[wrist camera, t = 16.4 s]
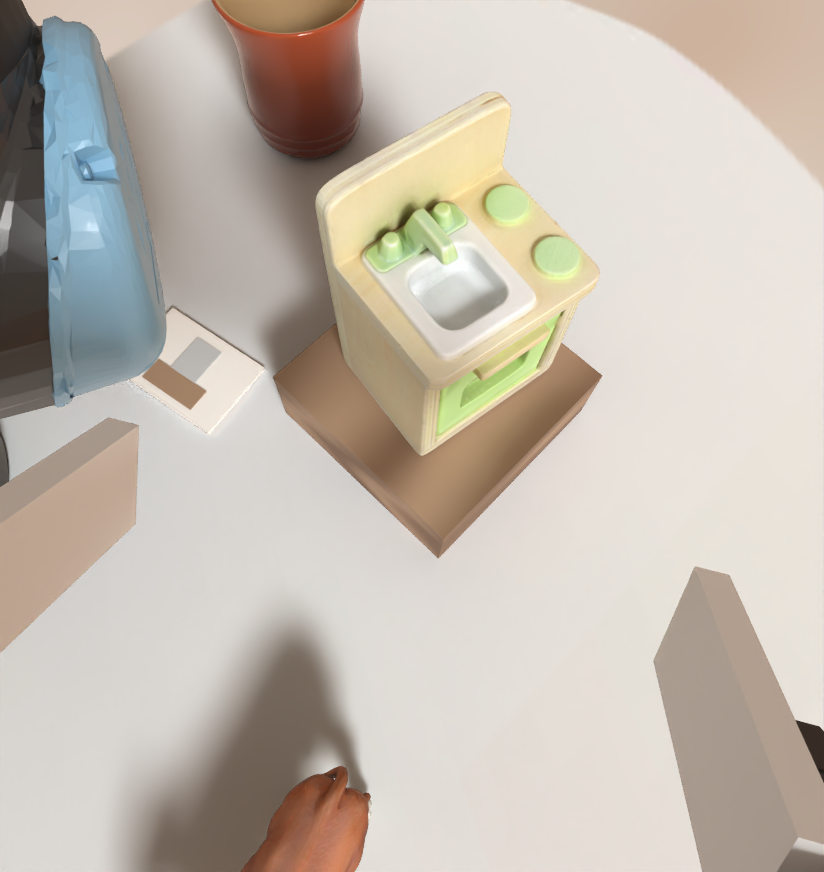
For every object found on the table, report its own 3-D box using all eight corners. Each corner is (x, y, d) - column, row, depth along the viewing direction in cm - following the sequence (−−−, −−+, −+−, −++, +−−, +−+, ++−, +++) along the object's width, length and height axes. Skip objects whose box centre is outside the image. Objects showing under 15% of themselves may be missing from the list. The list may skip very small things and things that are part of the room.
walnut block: (287, 415, 40) (272, 377, 36) (430, 289, 44) (434, 239, 39) (437, 560, 37) (443, 538, 33) (578, 413, 41) (602, 375, 36)
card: (116, 370, 41) (113, 367, 40) (174, 310, 42) (172, 306, 42) (209, 434, 39) (207, 432, 39) (264, 369, 41) (263, 366, 40)
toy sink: (425, 471, 34) (440, 339, 22) (340, 362, 36) (309, 185, 24) (558, 378, 36) (640, 209, 24) (469, 280, 38) (503, 77, 26)
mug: (386, 163, 47) (383, 22, 37) (256, 185, 46) (219, 46, 36) (350, 36, 51) (339, -120, 41) (230, 54, 50) (191, -101, 40)
